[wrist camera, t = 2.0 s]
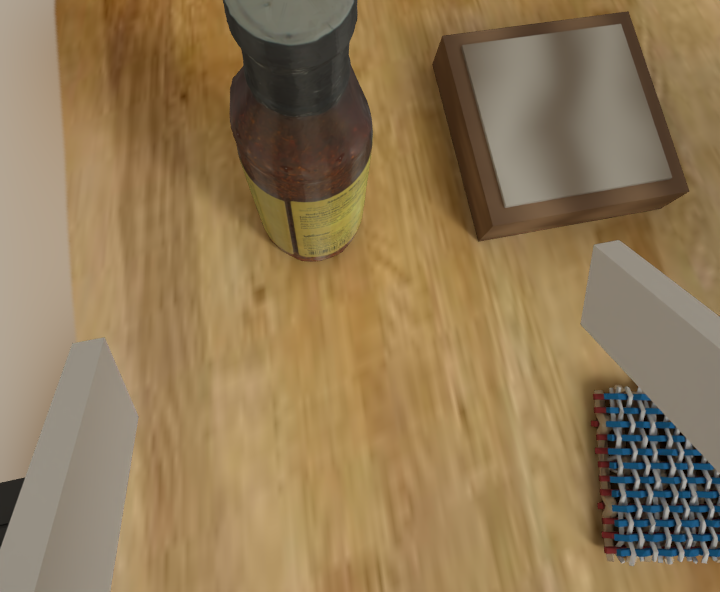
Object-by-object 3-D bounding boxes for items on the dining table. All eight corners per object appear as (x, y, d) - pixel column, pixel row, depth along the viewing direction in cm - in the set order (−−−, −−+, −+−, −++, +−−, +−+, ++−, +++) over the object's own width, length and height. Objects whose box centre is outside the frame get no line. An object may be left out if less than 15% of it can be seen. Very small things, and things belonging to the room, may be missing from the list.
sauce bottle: (371, 190, 37) (440, -63, 17) (342, 279, 35) (382, 111, 16) (275, 159, 36) (236, -131, 17) (243, 246, 35) (159, 38, 16)
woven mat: (582, 384, 36) (597, 381, 34) (740, 387, 37) (764, 385, 35) (593, 560, 34) (611, 570, 32) (761, 560, 34) (789, 569, 32)
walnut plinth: (605, 40, 41) (630, 8, 37) (660, 208, 38) (691, 189, 35) (432, 64, 39) (443, 33, 36) (478, 241, 36) (494, 224, 33)
